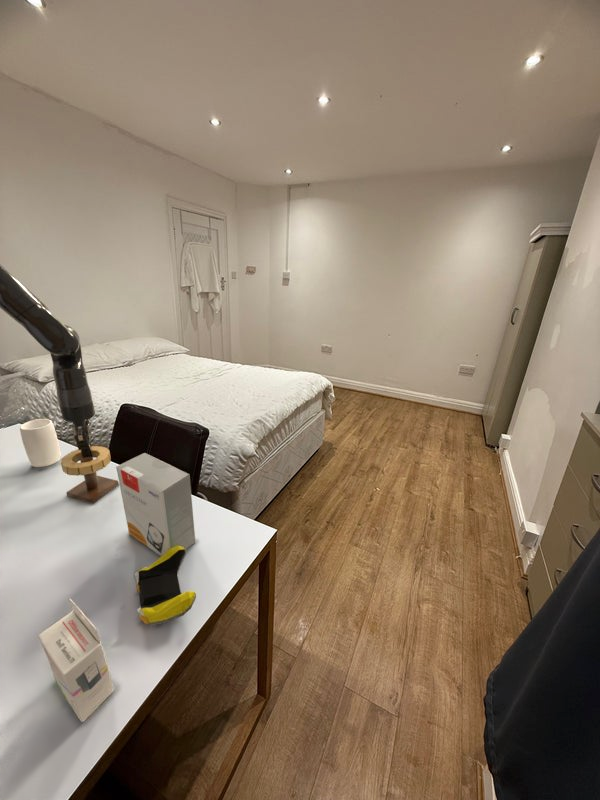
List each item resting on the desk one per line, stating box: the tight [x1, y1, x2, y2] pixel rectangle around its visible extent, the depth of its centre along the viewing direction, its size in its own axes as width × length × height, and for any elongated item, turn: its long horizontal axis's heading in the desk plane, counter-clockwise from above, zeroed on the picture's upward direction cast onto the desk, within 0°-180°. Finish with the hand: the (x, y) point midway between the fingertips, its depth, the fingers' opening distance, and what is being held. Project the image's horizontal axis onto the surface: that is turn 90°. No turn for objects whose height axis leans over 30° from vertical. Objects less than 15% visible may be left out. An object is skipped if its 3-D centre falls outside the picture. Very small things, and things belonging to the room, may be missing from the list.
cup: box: [19, 418, 62, 468], centre depth 101 cm, size 8×8×14 cm
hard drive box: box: [115, 452, 196, 557], centre depth 74 cm, size 16×8×20 cm, turn 60°
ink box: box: [37, 598, 115, 723], centre depth 47 cm, size 9×5×15 cm, turn 56°
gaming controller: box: [134, 545, 197, 626], centre depth 64 cm, size 15×6×10 cm
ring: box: [60, 445, 112, 477], centre depth 89 cm, size 12×12×2 cm
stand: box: [65, 457, 120, 504], centre depth 91 cm, size 9×9×10 cm
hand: (88, 455), depth 93 cm, fingers closed on ring, 2 cm apart
